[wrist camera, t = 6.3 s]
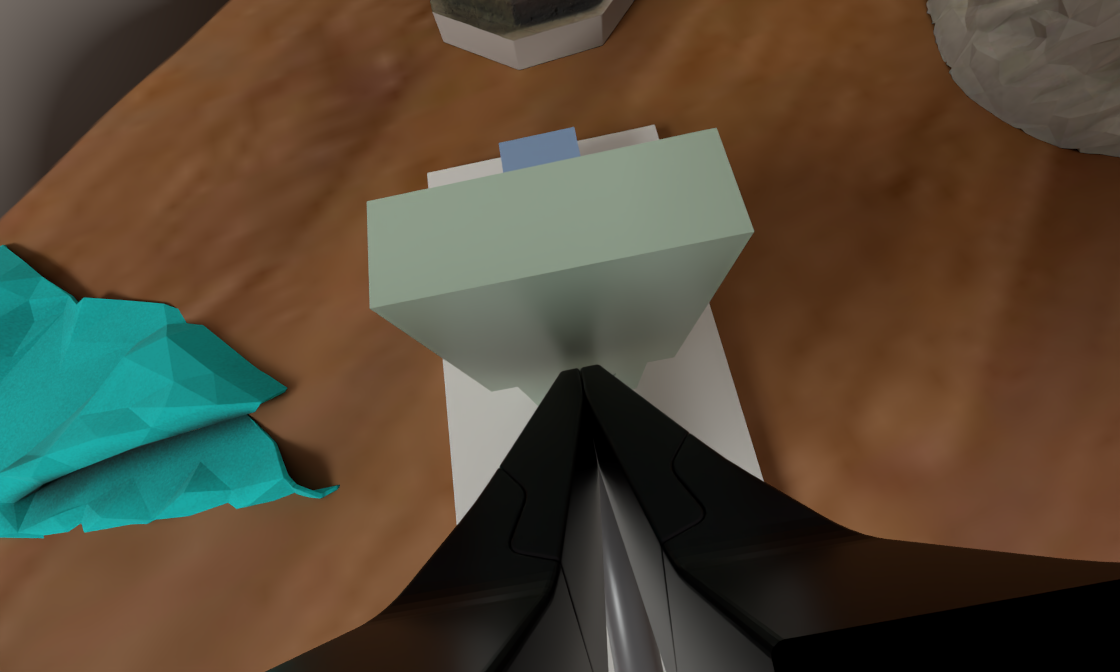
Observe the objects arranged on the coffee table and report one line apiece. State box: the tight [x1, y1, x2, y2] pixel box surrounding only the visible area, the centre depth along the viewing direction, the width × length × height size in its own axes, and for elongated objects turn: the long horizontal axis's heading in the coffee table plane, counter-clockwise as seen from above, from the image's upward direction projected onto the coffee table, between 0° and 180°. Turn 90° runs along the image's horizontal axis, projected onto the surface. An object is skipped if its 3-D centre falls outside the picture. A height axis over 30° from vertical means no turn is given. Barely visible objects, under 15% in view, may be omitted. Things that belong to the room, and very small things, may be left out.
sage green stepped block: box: [367, 128, 754, 406], centre depth 10 cm, size 4×5×10 cm
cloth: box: [0, 245, 340, 538], centre depth 18 cm, size 26×14×2 cm, turn 55°
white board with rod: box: [427, 125, 764, 672], centre depth 12 cm, size 30×10×5 cm, turn 10°
